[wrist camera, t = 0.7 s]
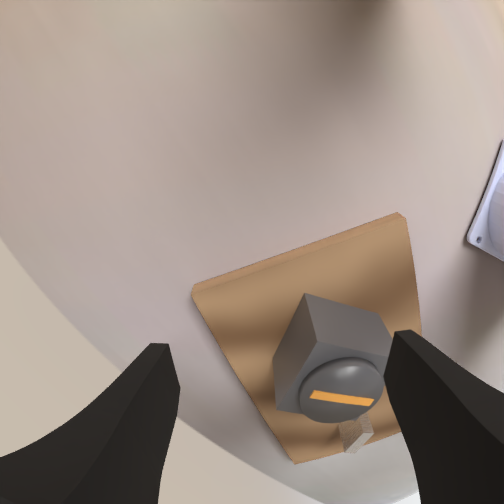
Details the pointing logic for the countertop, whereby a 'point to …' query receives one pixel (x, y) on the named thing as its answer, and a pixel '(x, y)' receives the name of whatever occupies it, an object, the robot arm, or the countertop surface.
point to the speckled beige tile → (355, 433)
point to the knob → (331, 361)
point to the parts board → (285, 304)
